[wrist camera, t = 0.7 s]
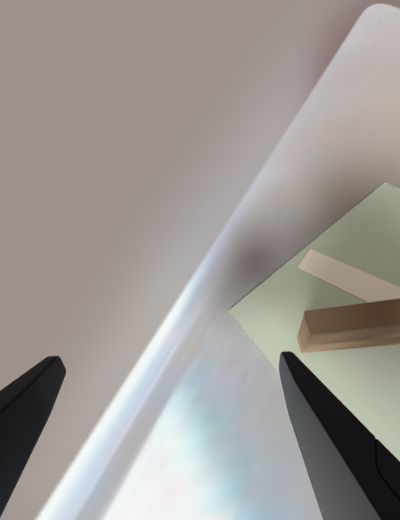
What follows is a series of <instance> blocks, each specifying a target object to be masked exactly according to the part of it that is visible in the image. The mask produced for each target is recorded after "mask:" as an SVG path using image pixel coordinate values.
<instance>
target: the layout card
mask: <svg viewBox="0 0 400 520" xmlns="http://www.w3.org/2000/svg"><path fill="white" fill-rule="evenodd" d="M399 298H400V188H398V187H395V186H393V185H391V184H389V183H386V182H384V183H383V184H382V185H381V186H379V187H378V188H377V189H376V190H374V191H373V192H372V193H371V194H370V195H368V196H367V197H366V198H365V199H363V200H362V201H361V202H360V203H359V204H357V205H356V206H355V207H354V208H353V209H351V210H350V211H349V212H348V213H346V214H345V215H344V216H343V217H342V218H340V219H339V220H338V221H337V222H335V223H334V224H333V225H332V226H331V227H329V228H328V229H327V230H326V231H325V232H323V233H322V234H321V235H320V236H318V237H317V238H316V239H315V240H314V241H312V242H311V243H310V244H309V245H307V246H306V247H305V248H304V249H303V250H301V251H300V252H299V253H298V254H297V255H295V256H294V257H293V258H292V259H290V260H289V261H288V262H287V263H286V264H284V265H283V266H282V267H281V268H279V269H278V270H277V271H276V272H275V273H273V274H272V275H271V276H270V277H269V278H267V279H266V280H265V281H264V282H262V283H261V284H260V285H259V286H258V287H256V288H255V289H254V290H253V291H251V292H250V293H249V294H248V295H247V296H245V297H244V298H243V299H242V300H241V301H239V302H238V303H237V304H236V305H234V306H233V307H232V308H231V309H230V310H228V312H229V313H230V314H231V315H232V317H233V318H234V319H235V320H236V322H237V323H238V324H239V325H240V326H241V328H242V329H243V330H244V331H245V333H246V334H247V335H248V336H249V337H250V339H251V340H252V341H253V342H254V344H255V345H256V346H257V347H258V348H259V350H260V351H261V352H262V353H263V355H264V356H265V357H266V358H267V359H268V361H269V362H270V363H271V364H272V366H273V367H274V368H275V369H276V370H277V372H278V373H279V360H280V353H281V352H282V351H291V352H293V353H294V354H295V355H296V356H297V357H298V358H299V359H300V360H301V361H302V362H303V363H304V364H305V365H306V366H307V367H308V368H309V369H310V370H311V371H312V372H313V373H314V375H315V376H316V377H317V378H318V379H319V380H320V381H321V382H322V383H323V384H324V385H325V386H326V387H327V388H328V389H329V390H330V391H331V392H332V393H333V394H334V395H335V396H336V397H337V398H338V399H339V400H340V401H341V402H342V403H343V404H344V405H345V406H346V407H347V408H348V409H349V410H350V411H351V412H352V413H353V414H354V415H355V416H356V417H357V419H358V420H359V421H360V422H361V423H362V424H363V425H364V426H365V427H366V428H367V429H368V430H369V431H370V432H371V433H372V434H373V435H374V436H375V439H378V440H379V441H380V442H381V443H382V444H383V445H384V446H385V447H386V448H387V449H388V450H389V451H390V452H391V453H392V454H393V455H394V456H395V457H396V458H397V459H398V460H399V461H400V344H396V345H385V346H374V347H363V348H352V349H342V350H331V351H320V352H309V353H301V352H300V348H299V344H298V340H297V336H298V332H299V329H300V326H301V322H302V319H303V315H304V311H308V310H316V309H323V308H331V307H339V306H346V305H354V304H361V303H369V302H376V301H384V300H392V299H399ZM279 374H280V373H279Z"/></svg>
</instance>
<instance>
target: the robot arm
mask: <svg viewBox="0 0 400 520" xmlns="http://www.w3.org/2000/svg"><path fill="white" fill-rule="evenodd" d="M279 373H280V378H281V382H282V387H283V391H284V396H285V400H286V405H287V409H288V413H289V417H290V420H291V423H292V426H293V429H294V432H295V435H296V438H297V441H298V444H299V447H300V450H301V453H302V457H303V460H304V463H305V466H306V469H307V472H308V475H309V478H310V481H311V484H312V487H313V490H314V493H315V496H316V499H317V502H318V505H319V508H320V511H321V514H322V517H323V520H400V461H399V460H398V459H397V458H396V457H395V456H394V455H393V454H392V453H391V452H390V451H389V450H388V449H387V448H386V447H385V446H384V445H383V444H382V443H381V442H380V441H379V440H378V439H375V436H374V435H373V434H372V433H371V432H370V431H369V430H368V429H367V428H366V427H365V426H364V425H363V424H362V423H361V422H360V421H359V420H358V419H357V417H356V416H355V415H354V414H353V413H352V412H351V411H350V410H349V409H348V408H347V407H346V406H345V405H344V404H343V403H342V402H341V401H340V400H339V399H338V398H337V397H336V396H335V395H334V394H333V393H332V392H331V391H330V390H329V389H328V388H327V387H326V386H325V385H324V384H323V383H322V382H321V381H320V380H319V379H318V378H317V377H316V376H315V375H314V373H313V372H312V371H311V370H310V369H309V368H308V367H307V366H306V365H305V364H304V363H303V362H302V361H301V360H300V359H299V358H298V357H297V356H296V355H295V354H294V353H293V352H291V351H282V352H281V353H280V360H279ZM65 374H66V369H65V366H64V364H63V362H62V360H61V358H60V357H59V356H49V357H47V358H45V359H44V360H42V361H41V362H39V363H38V364H37V365H35V366H34V367H33V368H31V369H30V370H28V371H27V372H26V373H24V374H23V375H21V376H20V377H19V378H17V379H16V380H15V381H13V382H12V383H10V384H9V385H8V386H6V387H5V388H3V389H2V390H1V391H0V517H1V515H2V513H3V511H4V509H5V507H6V505H7V503H8V501H9V499H10V497H11V495H12V492H13V490H14V488H15V486H16V484H17V482H18V480H19V478H20V476H21V474H22V472H23V470H24V468H25V466H26V463H27V462H28V459H29V457H30V455H31V453H32V451H33V449H34V447H35V445H36V443H37V441H38V439H39V437H40V435H41V433H42V431H43V429H44V426H45V424H46V422H47V420H48V418H49V416H50V414H51V411H52V409H53V406H54V403H55V401H56V398H57V396H58V393H59V390H60V388H61V385H62V382H63V380H64V377H65Z"/></svg>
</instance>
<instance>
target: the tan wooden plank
mask: <svg viewBox="0 0 400 520" xmlns="http://www.w3.org/2000/svg"><path fill="white" fill-rule="evenodd" d="M297 340H298V344H299V348H300V352H301V353H309V352H320V351H331V350H342V349H352V348H363V347H374V346H385V345H396V344H400V298H399V299H392V300H384V301H376V302H369V303H361V304H354V305H346V306H339V307H331V308H323V309H316V310H308V311H304V315H303V319H302V322H301V326H300V329H299V332H298V336H297Z"/></svg>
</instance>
